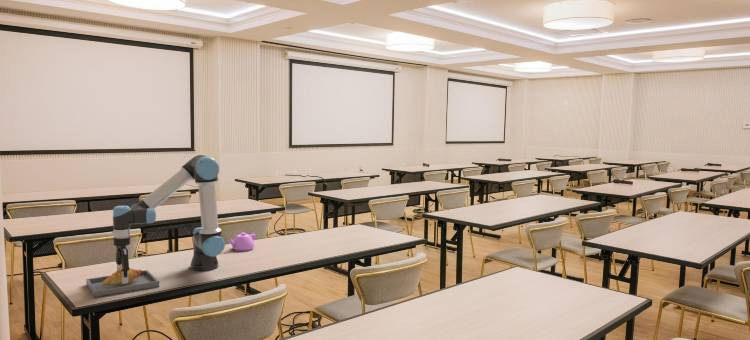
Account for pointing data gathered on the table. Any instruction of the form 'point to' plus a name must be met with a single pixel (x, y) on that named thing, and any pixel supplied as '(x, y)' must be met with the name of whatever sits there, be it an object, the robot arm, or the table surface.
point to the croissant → (117, 277)
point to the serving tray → (121, 285)
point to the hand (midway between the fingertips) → (122, 280)
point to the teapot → (243, 242)
